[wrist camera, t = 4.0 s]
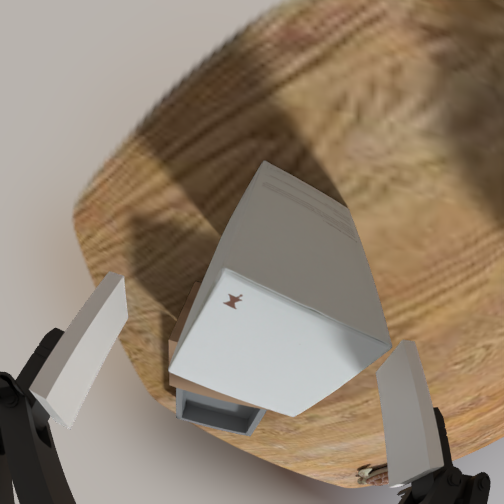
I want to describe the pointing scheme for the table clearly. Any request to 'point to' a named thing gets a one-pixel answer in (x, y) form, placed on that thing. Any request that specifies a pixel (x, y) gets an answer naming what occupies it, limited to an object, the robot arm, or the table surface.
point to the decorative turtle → (374, 476)
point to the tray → (217, 413)
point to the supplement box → (283, 301)
